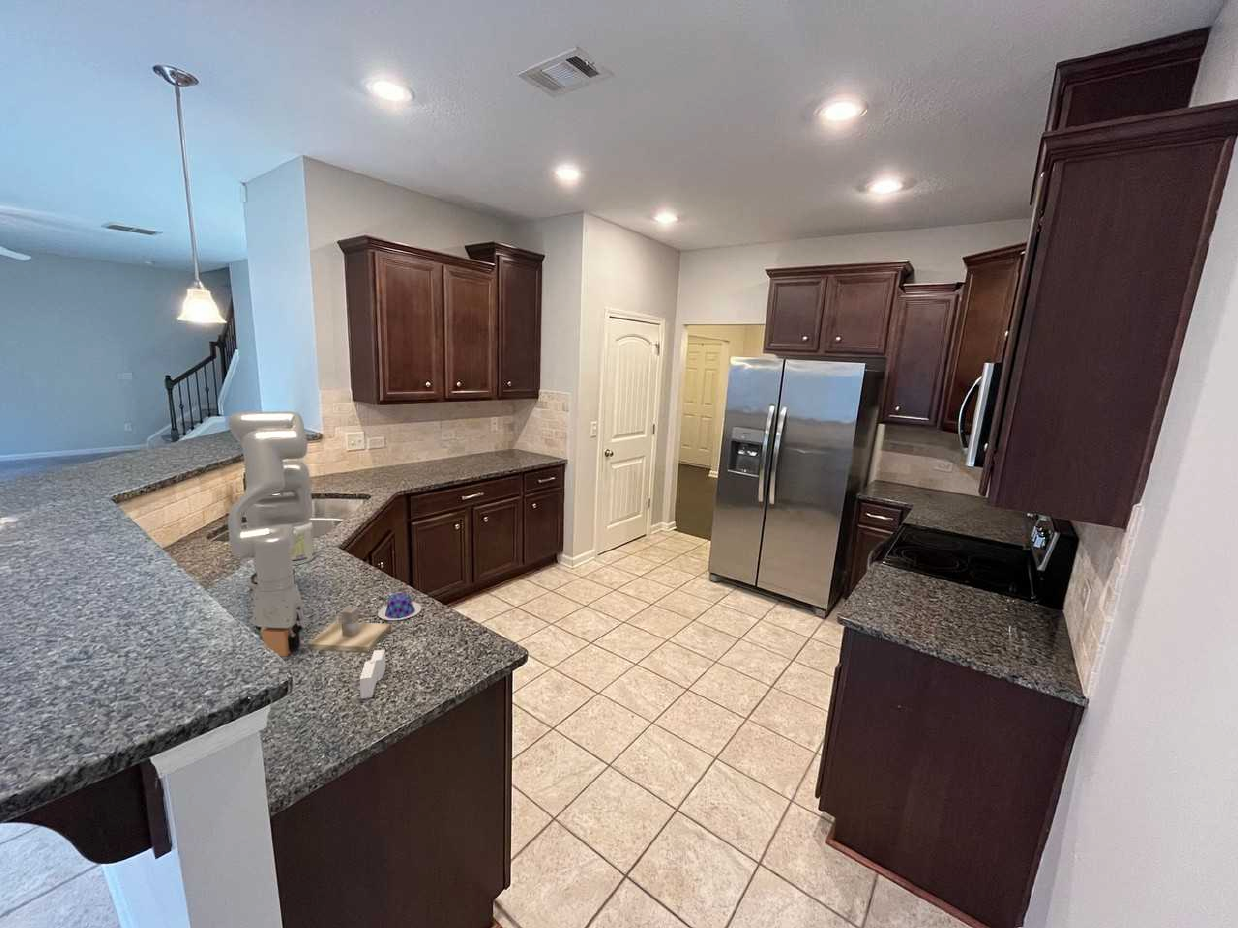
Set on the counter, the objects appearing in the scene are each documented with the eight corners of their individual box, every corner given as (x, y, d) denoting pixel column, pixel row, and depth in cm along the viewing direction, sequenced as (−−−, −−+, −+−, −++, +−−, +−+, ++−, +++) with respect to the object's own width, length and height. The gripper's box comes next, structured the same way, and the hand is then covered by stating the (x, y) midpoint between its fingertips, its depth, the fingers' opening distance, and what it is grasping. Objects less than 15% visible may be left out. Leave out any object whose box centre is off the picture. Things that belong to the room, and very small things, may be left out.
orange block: (264, 655, 128) (261, 631, 127) (279, 643, 133) (277, 620, 132) (286, 656, 128) (283, 632, 127) (300, 644, 133) (298, 621, 132)
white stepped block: (368, 708, 111) (367, 684, 110) (330, 694, 115) (329, 671, 114) (418, 671, 124) (418, 650, 123) (383, 660, 129) (382, 639, 127)
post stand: (308, 649, 131) (305, 618, 130) (335, 625, 143) (332, 597, 142) (369, 652, 131) (367, 621, 129) (390, 628, 143) (389, 600, 141)
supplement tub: (294, 552, 195) (290, 510, 192) (323, 555, 193) (319, 513, 190) (268, 564, 183) (264, 520, 180) (299, 567, 182) (295, 522, 178)
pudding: (374, 624, 145) (373, 607, 144) (381, 605, 157) (380, 589, 156) (419, 620, 149) (418, 603, 148) (423, 601, 160) (422, 586, 159)
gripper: (231, 586, 124) (238, 654, 127) (300, 590, 123) (306, 657, 127) (253, 574, 131) (260, 638, 134) (319, 577, 131) (324, 641, 134)
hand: (282, 647), depth 130 cm, fingers closed on orange block, 5 cm apart
